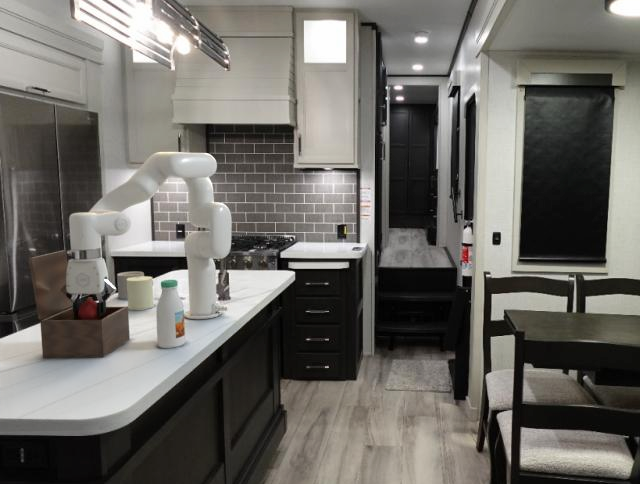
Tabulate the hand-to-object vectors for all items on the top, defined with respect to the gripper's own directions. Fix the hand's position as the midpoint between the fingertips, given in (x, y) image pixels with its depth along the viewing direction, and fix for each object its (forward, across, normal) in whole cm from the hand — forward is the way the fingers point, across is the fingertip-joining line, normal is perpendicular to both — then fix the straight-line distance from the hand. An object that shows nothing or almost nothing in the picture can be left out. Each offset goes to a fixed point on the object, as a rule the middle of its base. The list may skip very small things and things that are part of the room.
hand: (90, 314), depth 146 cm
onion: (+3, 0, 0) cm, 3 cm away
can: (+11, -7, +48) cm, 50 cm away
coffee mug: (+11, -17, +66) cm, 69 cm away
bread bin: (+11, -1, 0) cm, 11 cm away
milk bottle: (+11, +22, +3) cm, 25 cm away
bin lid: (-9, -10, 0) cm, 13 cm away
